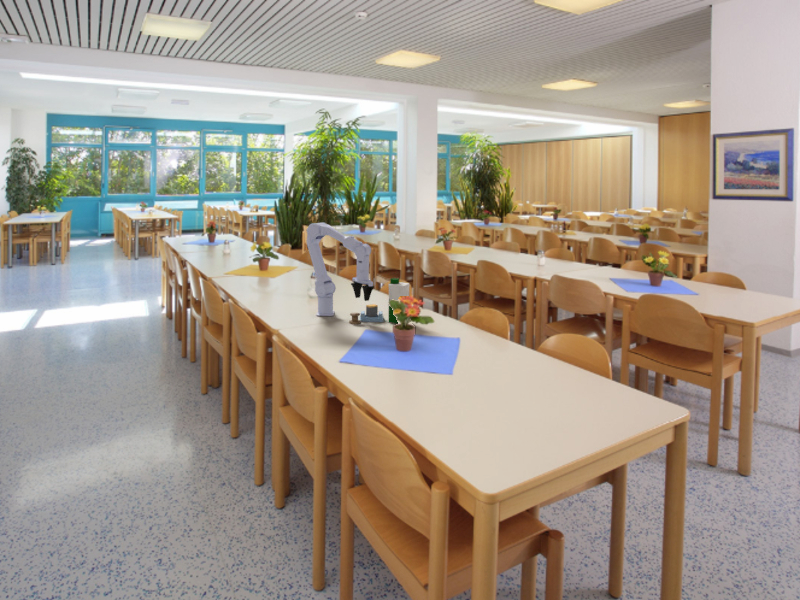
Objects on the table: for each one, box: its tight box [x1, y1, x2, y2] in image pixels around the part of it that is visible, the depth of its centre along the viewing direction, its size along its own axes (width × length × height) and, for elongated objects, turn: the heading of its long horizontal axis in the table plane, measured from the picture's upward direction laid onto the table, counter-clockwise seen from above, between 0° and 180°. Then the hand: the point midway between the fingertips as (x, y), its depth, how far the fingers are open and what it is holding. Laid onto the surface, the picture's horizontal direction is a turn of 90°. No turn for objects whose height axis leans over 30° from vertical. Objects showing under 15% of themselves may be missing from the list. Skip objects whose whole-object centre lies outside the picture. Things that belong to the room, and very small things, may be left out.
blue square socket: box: [359, 310, 384, 323], centre depth 264 cm, size 9×11×3 cm
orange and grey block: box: [365, 303, 379, 317], centre depth 264 cm, size 3×4×5 cm
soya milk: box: [387, 277, 410, 324], centre depth 260 cm, size 9×9×20 cm
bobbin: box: [348, 312, 362, 325], centre depth 258 cm, size 5×5×4 cm
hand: (362, 299), depth 264 cm, fingers open, 7 cm apart
